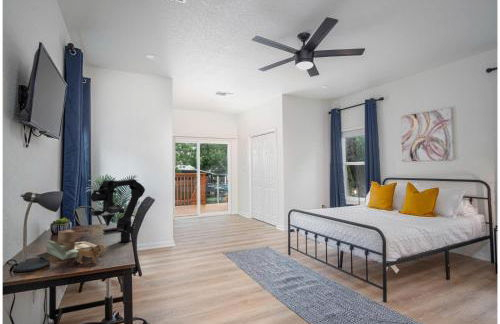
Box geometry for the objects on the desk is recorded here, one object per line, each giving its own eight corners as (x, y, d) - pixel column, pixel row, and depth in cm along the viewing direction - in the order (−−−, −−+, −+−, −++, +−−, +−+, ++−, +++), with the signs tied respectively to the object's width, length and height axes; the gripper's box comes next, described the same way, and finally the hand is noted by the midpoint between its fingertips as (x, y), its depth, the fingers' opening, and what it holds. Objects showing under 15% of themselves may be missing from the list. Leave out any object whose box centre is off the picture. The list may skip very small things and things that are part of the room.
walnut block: (69, 246, 169) (69, 229, 169) (74, 249, 165) (75, 231, 165) (57, 249, 164) (58, 231, 165) (62, 251, 160) (63, 232, 160)
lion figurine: (104, 259, 154) (105, 242, 154) (102, 262, 149) (103, 245, 149) (73, 262, 150) (73, 244, 150) (70, 265, 145) (70, 247, 145)
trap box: (84, 245, 183) (84, 234, 183) (101, 251, 169) (102, 240, 170) (46, 252, 167) (46, 240, 167) (62, 259, 153) (63, 247, 153)
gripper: (99, 202, 168) (98, 229, 168) (129, 200, 183) (128, 225, 183) (90, 201, 175) (89, 227, 174) (120, 199, 190) (119, 223, 189)
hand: (107, 225), depth 180 cm, fingers closed
